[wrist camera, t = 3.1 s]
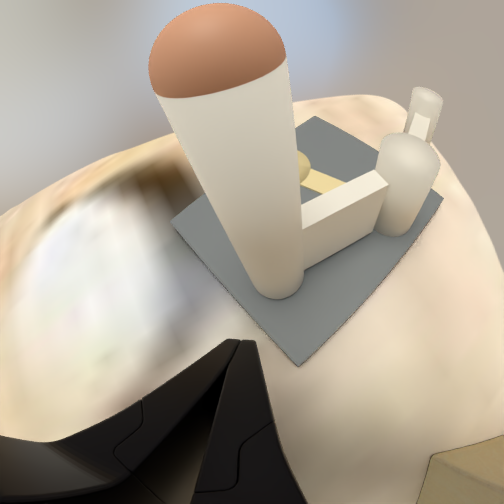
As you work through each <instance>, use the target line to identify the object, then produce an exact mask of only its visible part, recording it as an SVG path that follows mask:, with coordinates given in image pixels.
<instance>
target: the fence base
mask: <svg viewBox="0 0 504 504" xmlns="http://www.w3.org/2000/svg"><path fill="white" fill-rule="evenodd" d="M442 104H443V99H442V98H441V97H440V96H439V95H438V94H437V93H436V92H434V91H432V90H430V89H427V88H424V87H415V88H414V89H413V92H412V97H411V102H410V106H409V111H408V116H407V120H406V124H405V128H404V132H403V133H392V134H389V135H387V136H385V137H384V138H383V140H382V141H381V145H380V150H379V154H378V159H377V163H376V168H375V171H376V172H377V173H378V174H379V175H380V176H381V177H382V178H383V179H384V180H385V181H386V182H387V183H388V184H389V185H388V188H387V191H386V194H385V197H384V200H383V203H382V206H381V209H380V212H379V215H378V218H377V220H376V223H375V226H374V230H376V231H377V232H378V233H380V234H382V235H385V236H389V237H398V236H401V235H403V234H405V233H406V232H407V231H408V230H409V229H410V227H411V225H412V224H413V222H414V220H415V218H416V216H417V214H418V212H419V211H420V209H421V207H422V205H423V203H424V201H425V199H426V197H427V195H428V193H429V191H430V189H431V187H432V185H433V183H434V181H435V178H436V176H437V174H438V172H439V169H440V160H439V157H438V155H437V153H436V152H435V150H434V149H433V148H432V147H431V146H430V142H431V139H432V136H433V133H434V130H435V127H436V124H437V121H438V118H439V114H440V111H441V108H442Z"/></svg>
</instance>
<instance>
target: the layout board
mask: <svg viewBox="0 0 504 504" xmlns="http://www.w3.org/2000/svg"><path fill="white" fill-rule="evenodd" d="M295 133H296V143H297V155H298V167H299V180H300V195H301V205H302V204H304V203H306V202H308V201H310V200H312V199H314V198H316V197H318V196H320V195H322V194H324V193H326V192H328V191H330V190H332V189H334V188H337V187H339V186H341V185H343V184H345V183H347V182H349V181H351V180H353V179H355V178H357V177H359V176H361V175H364V174H366V173H368V172H370V171H372V170H375V168H376V163H377V159H378V154H379V152H378V151H377V150H375V149H374V148H372V147H370V146H369V145H367V144H365V143H364V142H362V141H360V140H359V139H357V138H355V137H354V136H352V135H350V134H348V133H347V132H345V131H343V130H341V129H339V128H337V127H336V126H334V125H332V124H330V123H328V122H326V121H324V120H322V119H320V118H318V117H316V116H314V117H312V118H311V119H309V120H307V121H306V122H304V123H303V124H301V125H300V126H298V127H297V128H295ZM443 199H444V198H443V197H442V196H440V195H439V194H438V193H437V192H435V191H434V190H433V189H430V191H429V193H428V195H427V197H426V199H425V201H424V203H423V205H422V207H421V209H420V211H419V212H418V214H417V216H416V218H415V220H414V222H413V224H412V225H411V227H410V229H409V230H408V231H407V232H406V233H405V234H403V235H401V236H398V237H389V236H385V235H382V234H380V233H378V232H377V231H376V230H374V229H373V231H372V232H371V233H369V234H367V235H366V236H364V237H362V238H361V239H359V240H357V241H355V242H354V243H352V244H350V245H348V246H347V247H345V248H343V249H341V250H340V251H338V252H336V253H334V254H333V255H331V256H329V257H327V258H325V259H324V260H322V261H320V262H318V263H316V264H315V265H313V266H311V267H309V268H307V269H305V270H304V278H303V282H302V284H301V286H300V287H299V289H298V290H297V291H296V292H295V293H294V294H292V295H291V296H289V297H286V298H283V299H271V298H267V297H265V296H263V295H262V294H260V293H259V292H258V291H257V290H256V288H255V287H254V285H253V283H252V281H251V279H250V277H249V276H248V274H247V272H246V270H245V268H244V266H243V264H242V262H241V260H240V259H239V257H238V255H237V253H236V251H235V249H234V247H233V245H232V243H231V241H230V240H229V238H228V236H227V234H226V232H225V230H224V228H223V226H222V224H221V222H220V220H219V218H218V217H217V215H216V213H215V211H214V209H213V207H212V205H211V203H210V201H209V199H208V197H207V195H206V193H204V194H203V195H202V196H201V197H199V198H198V199H197V200H196V201H194V202H193V203H192V204H190V205H189V206H188V207H187V208H186V209H184V210H183V211H182V212H181V213H179V214H178V215H177V216H176V217H175V218H173V219H172V220H171V221H170V222H171V224H172V225H173V226H174V227H175V229H176V230H177V231H178V232H179V234H180V235H181V236H182V237H183V238H184V240H185V241H186V242H187V243H188V244H189V246H190V247H191V248H192V249H193V250H194V252H195V253H196V254H197V255H198V256H199V258H200V259H201V260H202V261H203V262H204V263H205V265H206V266H207V267H208V268H209V269H210V270H211V272H212V273H213V274H214V275H215V276H216V277H217V279H218V280H219V281H220V282H221V283H222V284H223V285H224V287H225V288H226V289H227V290H228V291H229V292H230V293H231V295H232V296H233V297H234V298H235V299H236V300H237V301H238V302H239V304H240V305H241V306H242V307H243V308H244V309H245V310H246V311H247V313H248V314H249V315H250V316H251V317H252V318H253V319H254V320H255V321H256V322H257V324H258V325H259V326H260V327H261V328H262V329H263V330H264V331H265V332H266V333H267V334H268V336H269V337H270V338H271V339H272V340H273V341H274V342H275V343H276V344H277V345H278V346H279V347H280V348H281V349H282V351H283V352H284V353H285V354H286V355H287V356H288V357H289V358H290V359H291V360H292V361H293V362H294V363H295V364H296V365H297V366H298V367H299V366H300V365H301V364H302V363H304V362H305V361H306V360H307V359H308V358H309V357H310V356H311V355H312V354H313V353H314V352H315V351H316V350H318V349H319V348H320V347H321V346H322V345H323V344H324V343H325V342H326V341H327V340H328V339H329V338H330V337H331V336H332V335H333V334H334V333H335V332H336V331H337V330H338V329H339V328H340V327H341V326H342V325H343V324H344V323H345V322H346V321H347V320H348V319H349V318H350V316H351V315H352V314H353V313H354V312H355V311H356V310H357V309H358V308H359V307H360V306H361V305H362V304H363V302H364V301H365V300H366V299H367V298H368V297H369V296H370V295H371V294H372V292H373V291H374V290H375V289H376V288H377V287H378V286H379V284H380V283H381V282H382V281H383V280H384V278H385V277H386V276H387V275H388V274H389V273H390V271H391V270H392V269H393V268H394V266H395V265H396V264H397V263H398V261H399V260H400V259H401V258H402V256H403V255H404V254H405V253H406V251H407V250H408V249H409V247H410V246H411V245H412V244H413V242H414V241H415V240H416V238H417V237H418V236H419V234H420V233H421V231H422V230H423V229H424V227H425V226H426V225H427V223H428V222H429V220H430V219H431V217H432V216H433V215H434V213H435V212H436V210H437V209H438V207H439V206H440V204H441V202H442V201H443Z"/></svg>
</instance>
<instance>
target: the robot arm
mask: <svg viewBox="0 0 504 504" xmlns="http://www.w3.org/2000/svg"><path fill="white" fill-rule="evenodd" d="M0 504H308V502H307V501H306V499H305V497H304V495H303V493H302V491H301V489H300V487H299V485H298V482H297V480H296V478H295V476H294V474H293V472H292V470H291V468H290V466H289V463H288V461H287V458H286V456H285V454H284V451H283V448H282V445H281V441H280V438H279V435H278V431H277V427H276V423H275V420H274V416H273V411H272V407H271V403H270V399H269V395H268V391H267V387H266V383H265V379H264V374H263V370H262V366H261V362H260V357H259V353H258V349H257V345H256V342H255V341H254V340H242V341H241V340H239V339H226V340H225V341H223V342H222V343H221V344H219V345H218V346H217V347H215V348H214V349H212V350H211V351H210V352H208V353H207V354H206V355H204V356H203V357H201V358H200V359H199V360H197V361H196V362H194V363H193V364H192V365H190V366H189V367H187V368H186V369H184V370H183V371H182V372H180V373H179V374H177V375H176V376H174V377H173V378H171V379H170V380H169V381H167V382H166V383H164V384H163V385H161V386H160V387H158V388H157V389H155V390H154V391H152V392H151V393H149V394H148V395H146V396H145V397H143V398H142V400H138V401H137V402H135V403H134V404H132V405H130V406H129V407H127V408H126V409H124V410H122V411H120V412H119V413H117V414H115V415H114V416H112V417H110V418H108V419H106V420H104V421H102V422H100V423H98V424H96V425H93V426H91V427H89V428H87V429H85V430H82V431H80V432H78V433H76V434H73V435H71V436H69V437H66V438H64V439H61V440H58V441H54V442H34V441H27V440H21V439H15V438H10V437H5V436H1V435H0Z"/></svg>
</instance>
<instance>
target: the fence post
mask: <svg viewBox="0 0 504 504" xmlns="http://www.w3.org/2000/svg"><path fill="white" fill-rule="evenodd" d="M149 76H150V81H151V85H152V87H153V90H154V92H155V94H156V96H157V98H158V100H159V102H160V104H161V106H162V108H163V110H164V112H165V114H166V116H167V118H168V120H169V122H170V124H171V126H172V128H173V130H174V132H175V134H176V136H177V138H178V140H179V142H180V144H181V146H182V148H183V150H184V152H185V154H186V156H187V158H188V160H189V162H190V164H191V166H192V168H193V170H194V172H195V174H196V176H197V178H198V180H199V182H200V184H201V186H202V188H203V189H204V191H205V193H206V195H207V197H208V199H209V201H210V203H211V205H212V207H213V209H214V211H215V213H216V215H217V217H218V218H219V220H220V222H221V224H222V226H223V228H224V230H225V232H226V234H227V236H228V238H229V240H230V241H231V243H232V245H233V247H234V249H235V251H236V253H237V255H238V257H239V259H240V260H241V262H242V264H243V266H244V268H245V270H246V272H247V274H248V276H249V277H250V279H251V281H252V283H253V285H254V287H255V288H256V290H257V291H258V292H259V293H260V294H262V295H263V296H265V297H267V298H271V299H283V298H286V297H289V296H291V295H292V294H294V293H295V292H296V291H297V290H298V289H299V287H300V286H301V284H302V282H303V278H304V270H305V269H307V268H309V267H311V266H313V265H315V264H316V263H318V262H320V261H322V260H324V259H325V258H327V257H329V256H331V255H333V254H334V253H336V252H338V251H340V250H341V249H343V248H345V247H347V246H348V245H350V244H352V243H354V242H355V241H357V240H359V239H361V238H362V237H364V236H366V235H367V234H369V233H371V232H372V231H373V229H374V226H375V223H376V220H377V218H378V215H379V212H380V209H381V206H382V203H383V200H384V197H385V194H386V191H387V188H388V185H389V184H388V183H387V182H386V181H385V180H384V179H383V178H382V177H381V176H380V175H379V174H378V173H377V172H376V171H375V170H372V171H370V172H368V173H366V174H364V175H361V176H359V177H357V178H355V179H353V180H351V181H349V182H347V183H345V184H343V185H341V186H339V187H337V188H334V189H332V190H330V191H328V192H326V193H324V194H322V195H320V196H318V197H316V198H314V199H312V200H310V201H308V202H306V203H304V204H302V205H301V195H300V180H299V167H298V155H297V143H296V133H295V123H294V113H293V104H292V96H291V88H290V80H289V72H288V65H287V58H286V53H285V48H284V44H283V42H282V39H281V37H280V35H279V34H278V32H277V30H276V29H275V28H274V27H273V26H272V25H271V23H270V22H269V21H268V20H266V19H265V18H264V17H263V16H261V15H260V14H258V13H257V12H255V11H253V10H250V9H248V8H246V7H243V6H239V5H235V4H228V3H213V4H206V5H201V6H198V7H195V8H192V9H190V10H188V11H186V12H184V13H182V14H180V15H179V16H177V17H176V18H174V19H173V20H172V21H171V22H170V23H168V24H167V25H166V26H165V28H164V29H163V30H162V31H161V32H160V34H159V35H158V37H157V39H156V40H155V42H154V45H153V47H152V50H151V54H150V57H149Z"/></svg>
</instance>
